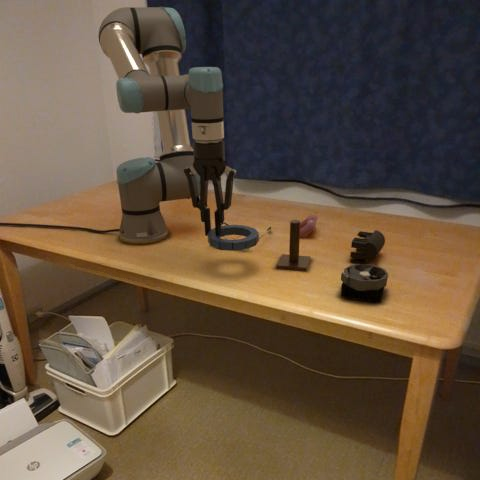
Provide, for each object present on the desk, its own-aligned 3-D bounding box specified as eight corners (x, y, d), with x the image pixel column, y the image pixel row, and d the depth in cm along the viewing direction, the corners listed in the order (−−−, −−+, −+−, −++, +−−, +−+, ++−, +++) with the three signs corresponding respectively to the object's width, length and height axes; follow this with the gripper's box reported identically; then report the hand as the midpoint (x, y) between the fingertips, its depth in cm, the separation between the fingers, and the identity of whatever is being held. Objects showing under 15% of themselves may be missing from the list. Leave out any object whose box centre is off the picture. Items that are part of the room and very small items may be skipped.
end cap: (375, 267, 128) (378, 243, 124) (349, 263, 130) (351, 239, 127) (383, 254, 135) (386, 231, 132) (358, 250, 138) (360, 227, 135)
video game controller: (308, 243, 148) (319, 224, 144) (295, 236, 148) (306, 217, 144) (310, 232, 156) (321, 214, 153) (298, 226, 156) (308, 207, 152)
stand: (276, 268, 128) (277, 225, 122) (282, 257, 135) (282, 215, 129) (306, 271, 126) (308, 227, 120) (310, 259, 133) (312, 217, 127)
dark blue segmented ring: (201, 248, 122) (201, 240, 121) (217, 230, 133) (216, 223, 132) (251, 252, 119) (251, 244, 118) (262, 234, 130) (263, 226, 129)
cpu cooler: (390, 265, 114) (385, 283, 106) (387, 287, 117) (382, 306, 109) (346, 260, 117) (338, 277, 109) (344, 281, 120) (336, 299, 112)
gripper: (172, 142, 113) (181, 237, 125) (234, 144, 110) (237, 241, 121) (184, 136, 119) (191, 227, 131) (243, 138, 116) (244, 231, 128)
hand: (213, 234), depth 126 cm, fingers closed on dark blue segmented ring, 2 cm apart
